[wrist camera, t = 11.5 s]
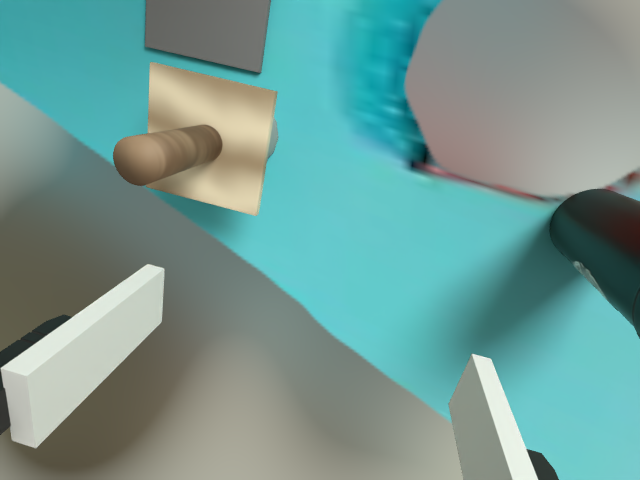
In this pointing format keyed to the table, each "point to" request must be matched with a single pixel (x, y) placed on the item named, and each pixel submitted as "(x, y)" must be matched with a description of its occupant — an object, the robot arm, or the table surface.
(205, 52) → the mat
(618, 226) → the water bottle
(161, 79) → the lid
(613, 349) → the table surface
